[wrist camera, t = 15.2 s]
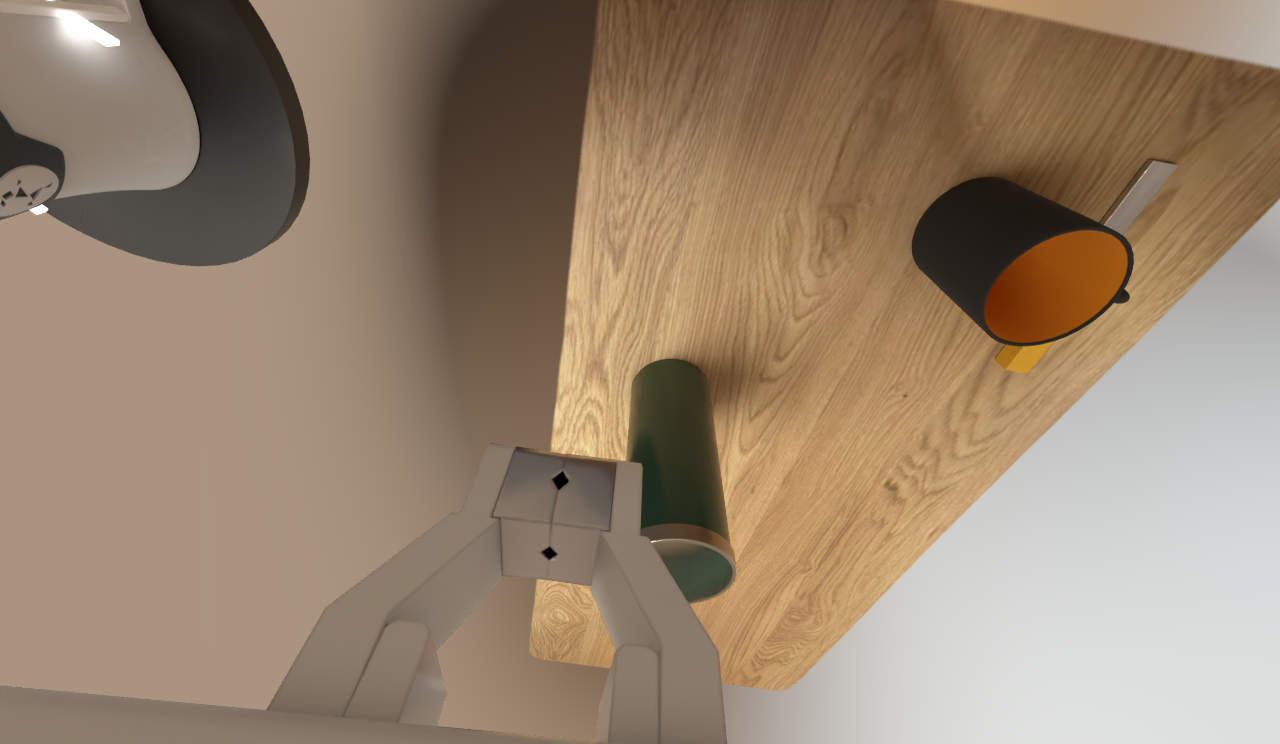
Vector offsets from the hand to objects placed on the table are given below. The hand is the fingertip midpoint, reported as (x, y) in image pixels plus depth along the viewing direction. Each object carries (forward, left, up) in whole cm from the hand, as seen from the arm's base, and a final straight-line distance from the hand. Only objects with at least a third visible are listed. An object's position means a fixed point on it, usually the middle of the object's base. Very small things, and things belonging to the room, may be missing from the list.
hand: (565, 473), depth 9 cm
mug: (+25, +15, -31) cm, 43 cm away
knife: (+33, +19, -31) cm, 49 cm away
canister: (+19, -14, -31) cm, 39 cm away
